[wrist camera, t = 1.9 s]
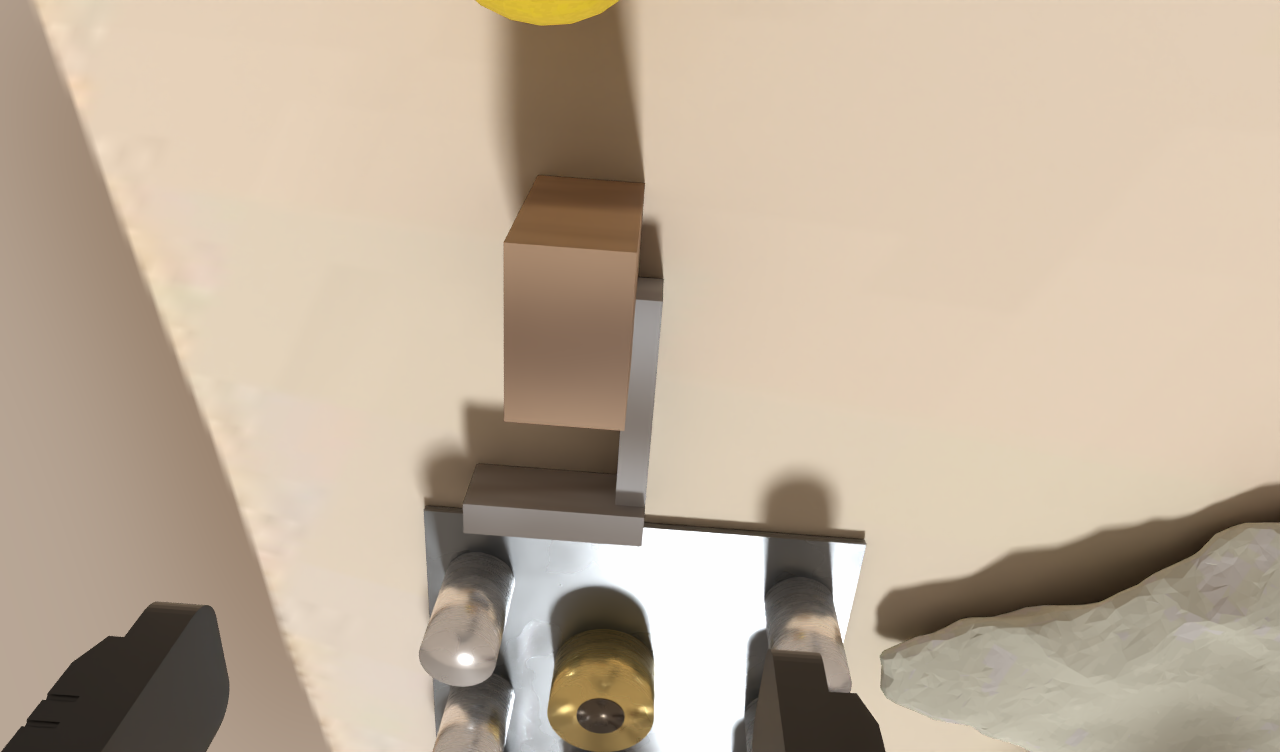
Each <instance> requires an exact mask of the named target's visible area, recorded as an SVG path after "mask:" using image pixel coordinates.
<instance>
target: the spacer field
mask: <svg viewBox="0 0 1280 752" xmlns="http://www.w3.org/2000/svg"><path fill="white" fill-rule="evenodd" d="M424 523H425V541H426V559H427V578H428V596H429V614H430V620H429V623H428V626H427V629H426V632H425V635H424V638H423V641H422V644H421V647H420V650H419V659H420V662H421V665H422V667H423V668H424V669H425V671H426V672H427V673H428V674H429V675H430V676H432V677H433V686H434V704H435V722H436V742H435V745H434V749H433V752H595V751H588V750H584V749H581V748H578V747H576V746H573V745H571V744H569V743H568V742H566V741H564V740H563V739H562V738H561V737H559V736H558V735H557V734H556V732H555V731H554V730H553V728H552V727H551V725H550V723H549V720H548V715H547V709H548V702H549V696H550V689H551V683H552V677H553V670H554V664H555V658H556V655H557V652H558V650H559V649H560V647H561V646H562V645H563V644H564V643H565V642H566V641H567V640H568V639H570V638H571V637H573V636H575V635H577V634H579V633H581V632H585V631H589V630H595V629H610V630H616V631H620V632H623V633H626V634H629V635H631V636H633V637H635V638H636V639H638V640H639V641H641V642H642V643H643V644H644V645H645V646H646V647H647V648H648V649H649V651H650V652H651V654H652V656H653V658H654V661H655V699H654V722H653V726H652V728H651V730H650V732H649V733H648V734H647V736H646V737H645V738H644V739H642V740H641V741H640V742H638V743H637V744H635V745H633V746H631V747H629V748H626V749H623V750H619V751H613V752H752V740H753V727H754V719H755V714H756V708H757V702H758V697H759V691H760V686H761V680H762V674H763V669H764V663H765V658H766V654H767V651H768V649H777V650H790V651H804V652H817V653H820V654H821V656H822V659H823V663H824V669H825V674H826V679H827V684H828V689H829V692H842V693H850V691H851V687H852V681H851V677H850V672H849V668H848V663H847V659H846V655H845V650H844V646H843V642H844V637H845V633H846V629H847V625H848V620H849V616H850V612H851V608H852V603H853V599H854V595H855V591H856V586H857V582H858V578H859V574H860V569H861V565H862V561H863V557H864V552H865V548H866V542H865V540H863V539H850V538H837V537H824V536H811V535H798V534H785V533H772V532H759V531H746V530H733V529H720V528H707V527H694V526H681V525H668V524H655V523H644V527H643V538H642V547H637V546H624V545H611V544H598V543H585V542H572V541H560V540H547V539H534V538H521V537H508V536H495V535H482V534H470V533H464V528H463V509H461V508H448V507H435V506H426V507H425V509H424Z"/></svg>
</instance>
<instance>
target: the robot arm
mask: <svg viewBox="0 0 1280 752" xmlns="http://www.w3.org/2000/svg"><path fill="white" fill-rule="evenodd" d="M47 695H48V696H47V699H46V700H42V701H41V702H40V704H39V705H38V706H37V707H36V709H35V710H34V711H33V712H32V714H31V715H30V716H29V718H28V719H27V723H26V725H25V727H23V726H22V727H21V728H20V729H19V730H18V731H17V733H16V734H15V735H14V736H13V738H12V739H11V740H10V741H9V743H8V744H7V745H6V747H5V748H4V749H3V750H2V751H1V752H206V751H207V749H208V747H209V745H210V744H211V742H212V740H213V738H214V736H215V735H216V733H217V731H218V729H219V727H220V725H221V723H222V721H223V718H224V715H225V712H226V708H227V704H228V698H229V678H228V673H227V668H226V663H225V659H224V653H223V648H222V643H221V638H220V633H219V628H218V623H217V618H216V614H215V612H214V610H213V608H212V607H211V606H208V605H196V604H183V603H169V602H154V603H152V604H150V605H149V606H148V607H147V608H146V609H145V610H144V612H143V613H142V614H141V616H140V617H139V618H138V620H137V621H136V622H135V623H134V625H133V626H132V627H131V629H130V630H129V632H128V633H127V634H126V636H125V637H114V636H108V637H107V638H105V639H104V640H103V641H101V642H100V643H98V644H97V645H96V646H94V647H93V648H92V649H90V650H89V651H87V652H86V653H85V654H83V655H82V656H81V657H79V658H78V659H76V660H75V661H74V662H72V663H71V665H70V666H69V667H68V668H67V670H66V671H65V672H64V673H63V675H62V676H61V677H60V678H59V680H58V681H57V682H56V684H55V685H54V686H53V687H52V689H51V690H50V691H49V692H48V694H47ZM752 752H885V748H884V744H883V740H882V736H881V732H880V728H879V724H878V723H877V721H876V720H875V719H874V717H873V716H872V714H871V713H870V712H869V710H868V709H867V707H866V706H865V705H864V703H863V702H862V700H861V699H860V698H859V696H858V695H857V694H856V693H842V692H829V689H828V684H827V679H826V674H825V669H824V663H823V659H822V656H821V654H820V653H817V652H804V651H790V650H777V649H768V651H767V654H766V658H765V663H764V669H763V674H762V680H761V686H760V691H759V697H758V702H757V708H756V714H755V719H754V727H753V740H752Z"/></svg>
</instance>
